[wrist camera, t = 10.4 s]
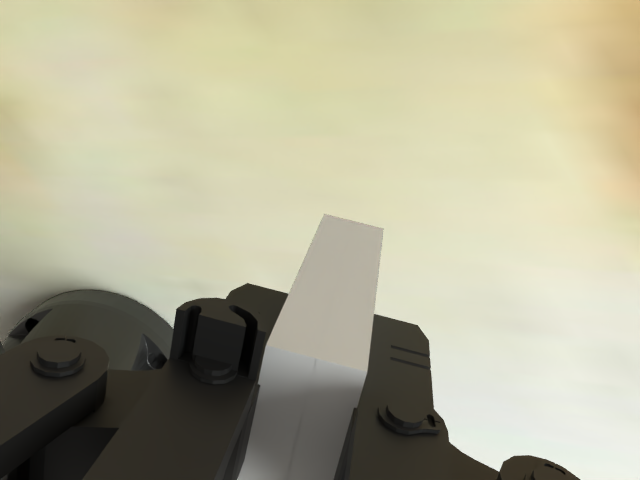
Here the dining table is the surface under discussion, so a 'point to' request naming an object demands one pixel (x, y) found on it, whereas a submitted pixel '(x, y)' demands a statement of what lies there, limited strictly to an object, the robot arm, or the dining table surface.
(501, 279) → the dining table surface
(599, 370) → the dining table surface
